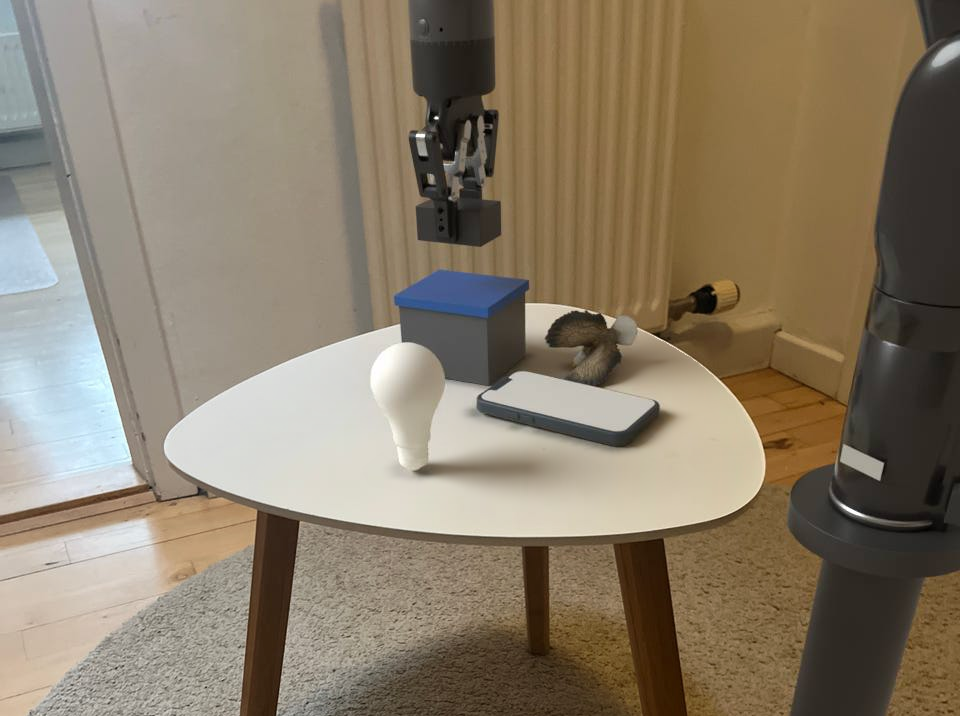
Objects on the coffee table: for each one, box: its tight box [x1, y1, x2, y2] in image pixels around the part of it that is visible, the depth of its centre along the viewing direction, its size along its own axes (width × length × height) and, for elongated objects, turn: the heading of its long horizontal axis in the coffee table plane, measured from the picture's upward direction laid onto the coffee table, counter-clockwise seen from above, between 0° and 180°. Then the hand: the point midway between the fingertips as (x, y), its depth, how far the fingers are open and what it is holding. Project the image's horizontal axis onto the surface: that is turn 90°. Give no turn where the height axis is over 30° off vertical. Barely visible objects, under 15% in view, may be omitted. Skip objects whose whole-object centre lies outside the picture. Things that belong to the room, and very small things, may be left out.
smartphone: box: [476, 370, 661, 447], centre depth 93 cm, size 9×2×16 cm
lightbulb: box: [369, 342, 446, 472], centre depth 82 cm, size 6×6×11 cm
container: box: [393, 269, 530, 387], centre depth 102 cm, size 11×10×8 cm
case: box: [415, 196, 502, 248], centre depth 96 cm, size 7×5×3 cm, turn 63°
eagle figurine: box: [544, 309, 639, 387], centre depth 100 cm, size 8×7×9 cm
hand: (460, 234), depth 97 cm, fingers closed on case, 4 cm apart
